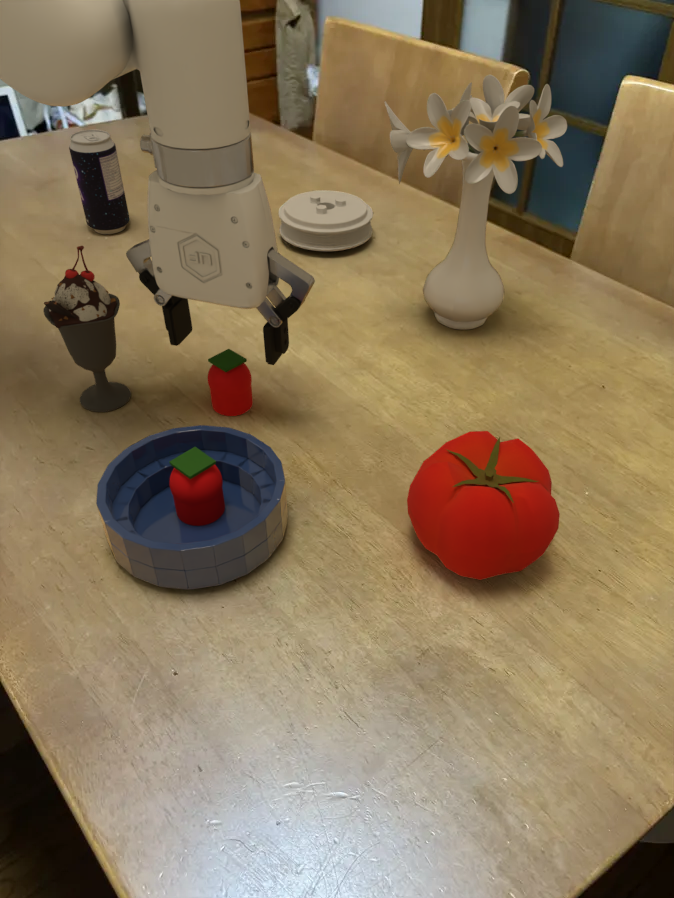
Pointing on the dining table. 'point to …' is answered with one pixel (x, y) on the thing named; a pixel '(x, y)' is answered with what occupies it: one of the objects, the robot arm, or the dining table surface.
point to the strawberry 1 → (197, 488)
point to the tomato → (483, 505)
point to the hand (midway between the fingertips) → (228, 347)
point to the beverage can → (99, 180)
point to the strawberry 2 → (230, 384)
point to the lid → (325, 220)
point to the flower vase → (476, 184)
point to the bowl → (182, 545)
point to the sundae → (89, 333)
